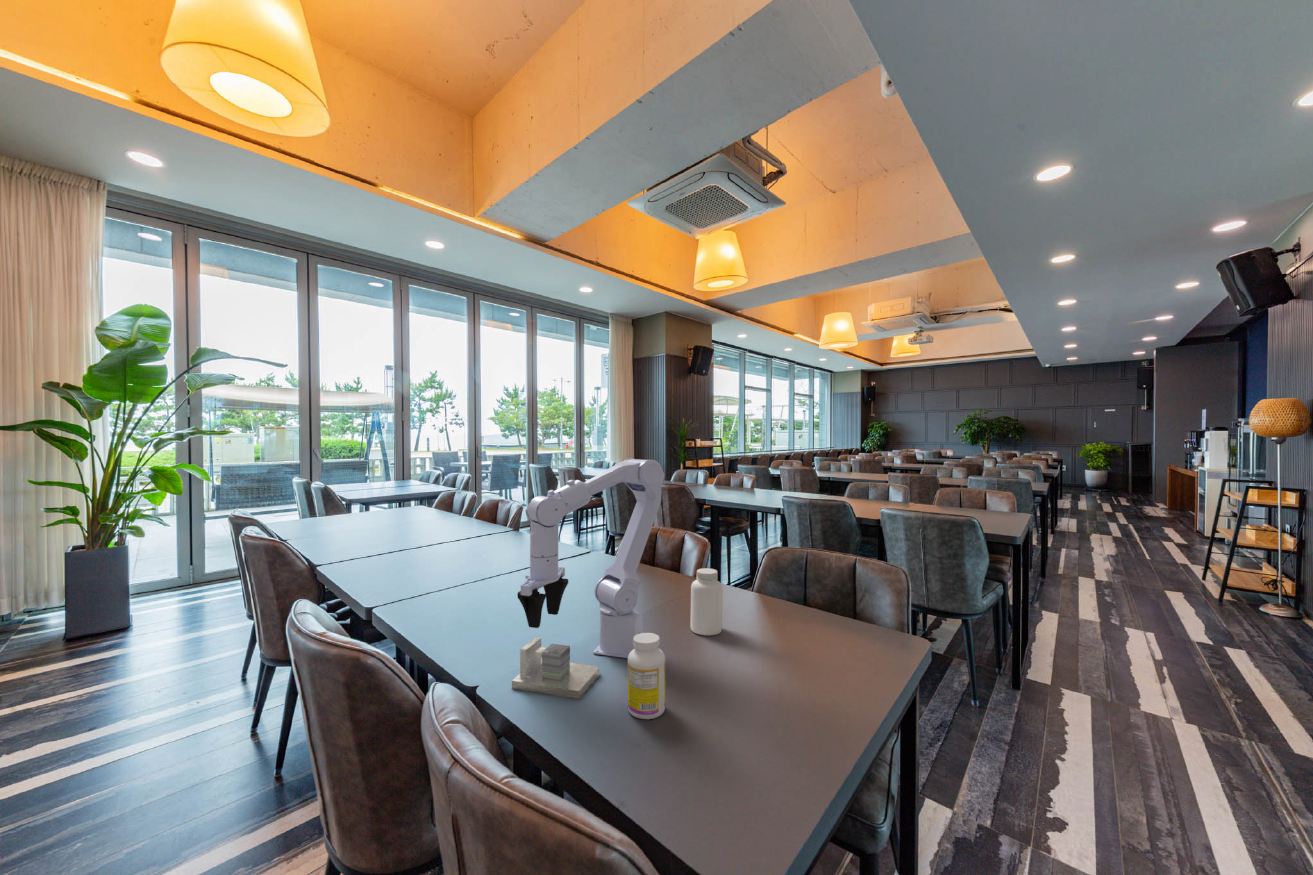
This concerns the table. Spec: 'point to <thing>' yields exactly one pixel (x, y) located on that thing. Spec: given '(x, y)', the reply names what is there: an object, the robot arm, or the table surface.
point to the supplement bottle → (646, 677)
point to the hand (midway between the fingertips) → (543, 620)
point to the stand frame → (567, 687)
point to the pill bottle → (706, 603)
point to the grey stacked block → (555, 661)
